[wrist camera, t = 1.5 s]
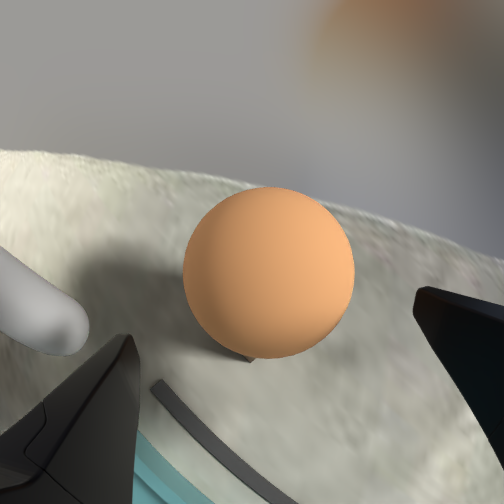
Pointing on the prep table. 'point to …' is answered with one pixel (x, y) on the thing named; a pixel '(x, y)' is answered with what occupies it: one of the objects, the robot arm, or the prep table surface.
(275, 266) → the ball
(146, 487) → the tray
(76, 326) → the donut
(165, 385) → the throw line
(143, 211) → the prep table surface
